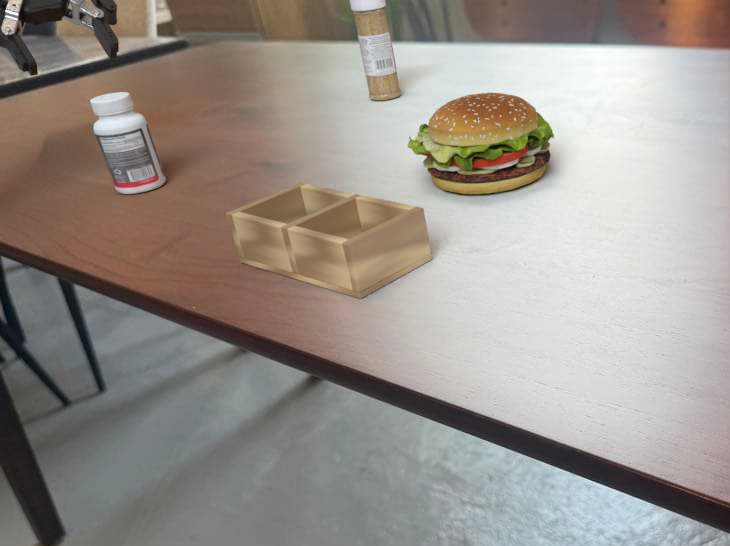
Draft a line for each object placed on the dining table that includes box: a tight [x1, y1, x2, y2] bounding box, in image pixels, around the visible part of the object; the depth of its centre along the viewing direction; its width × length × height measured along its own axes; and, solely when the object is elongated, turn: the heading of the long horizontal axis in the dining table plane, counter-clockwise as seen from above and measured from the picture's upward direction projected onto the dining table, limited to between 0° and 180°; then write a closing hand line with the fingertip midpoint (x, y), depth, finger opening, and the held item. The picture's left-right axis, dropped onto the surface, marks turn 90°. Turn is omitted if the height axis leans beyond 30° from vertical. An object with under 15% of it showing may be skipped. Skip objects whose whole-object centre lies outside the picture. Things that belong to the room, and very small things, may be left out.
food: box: [407, 91, 555, 195], centre depth 85 cm, size 14×14×8 cm
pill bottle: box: [89, 91, 167, 195], centre depth 93 cm, size 5×5×10 cm
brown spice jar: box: [349, 0, 402, 101], centre depth 117 cm, size 5×5×14 cm
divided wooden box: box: [225, 182, 433, 300], centre depth 72 cm, size 15×8×4 cm, turn 53°
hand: (75, 61), depth 94 cm, fingers open, 8 cm apart
